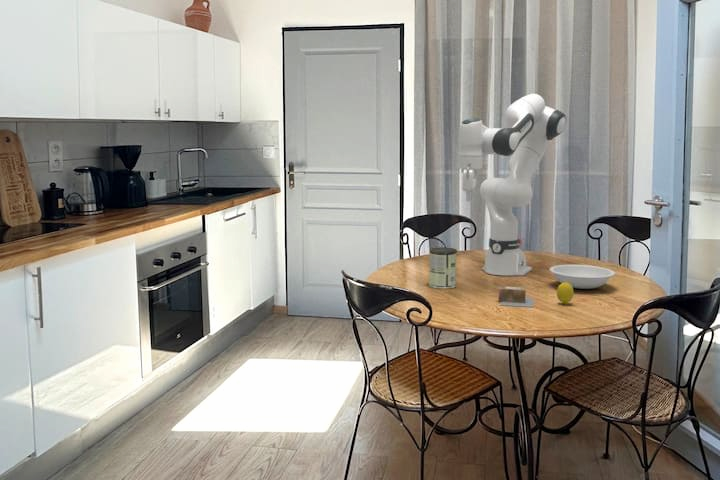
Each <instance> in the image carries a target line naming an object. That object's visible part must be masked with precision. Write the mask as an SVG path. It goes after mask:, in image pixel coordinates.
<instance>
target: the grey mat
mask: <svg viewBox="0 0 720 480" xmlns="http://www.w3.org/2000/svg"><path fill="white" fill-rule="evenodd" d="M499 306H501V307H502V306H503V307H518V308H519V307H521V308H534V297H532V296H531V297H530V296H525V303H516V302H500V305H499Z"/></svg>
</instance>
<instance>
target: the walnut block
mask: <svg viewBox="0 0 720 480" xmlns="http://www.w3.org/2000/svg"><path fill="white" fill-rule="evenodd" d="M526 291H527V290H526V287H524V286H523V287H522V286H521V287H520V286H504V285H503V286H501V285H499V287H498V302H499V303H501V302H516V303H525V297H526V295H527V293H526Z"/></svg>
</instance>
